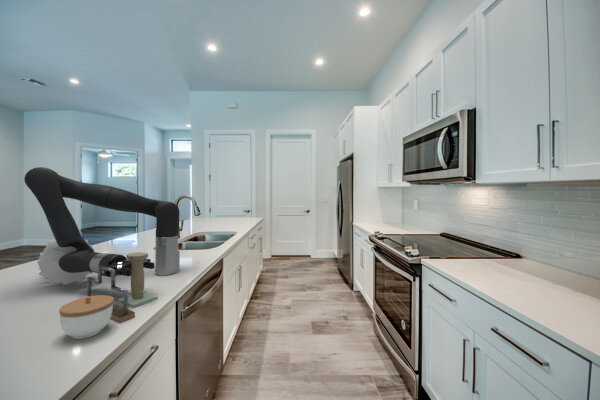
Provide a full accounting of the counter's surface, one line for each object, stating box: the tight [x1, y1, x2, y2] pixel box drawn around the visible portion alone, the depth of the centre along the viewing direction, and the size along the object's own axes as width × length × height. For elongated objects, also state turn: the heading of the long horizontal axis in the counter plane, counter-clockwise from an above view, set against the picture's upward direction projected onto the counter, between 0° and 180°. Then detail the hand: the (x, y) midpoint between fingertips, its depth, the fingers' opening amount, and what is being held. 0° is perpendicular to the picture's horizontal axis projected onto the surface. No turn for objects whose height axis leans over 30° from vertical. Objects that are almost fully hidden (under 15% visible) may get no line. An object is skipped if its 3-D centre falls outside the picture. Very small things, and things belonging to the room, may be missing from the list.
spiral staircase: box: [36, 238, 95, 286], centre depth 103 cm, size 18×18×25 cm
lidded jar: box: [59, 294, 115, 340], centre depth 64 cm, size 11×11×9 cm
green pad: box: [117, 290, 158, 309], centre depth 84 cm, size 8×9×1 cm
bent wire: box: [86, 265, 136, 324], centre depth 76 cm, size 4×24×14 cm, turn 62°
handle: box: [125, 251, 149, 299], centre depth 83 cm, size 5×6×15 cm
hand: (142, 269), depth 83 cm, fingers open, 8 cm apart
